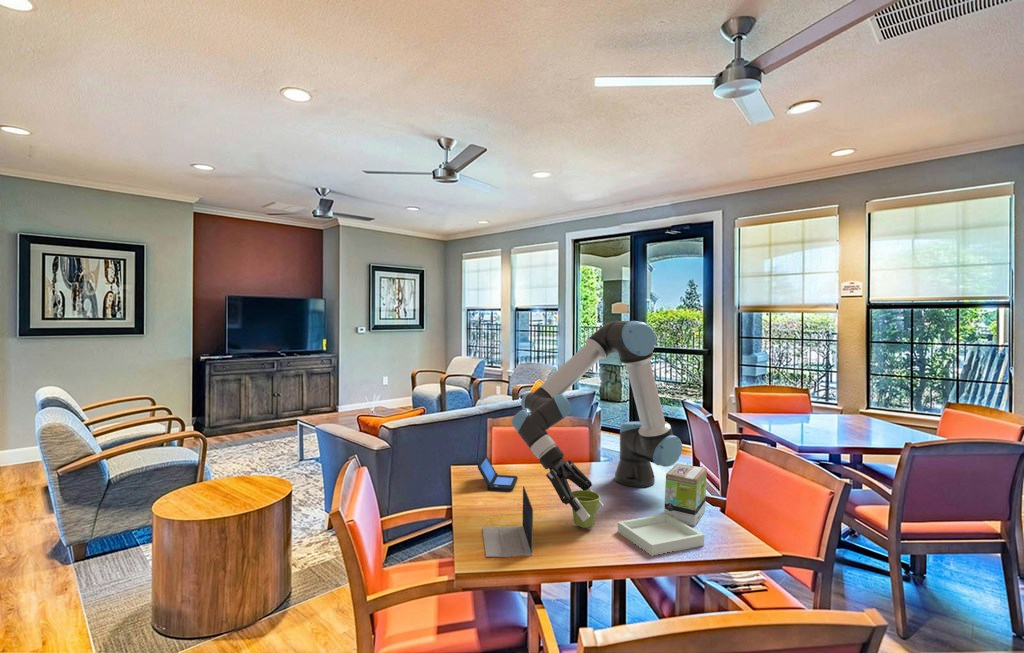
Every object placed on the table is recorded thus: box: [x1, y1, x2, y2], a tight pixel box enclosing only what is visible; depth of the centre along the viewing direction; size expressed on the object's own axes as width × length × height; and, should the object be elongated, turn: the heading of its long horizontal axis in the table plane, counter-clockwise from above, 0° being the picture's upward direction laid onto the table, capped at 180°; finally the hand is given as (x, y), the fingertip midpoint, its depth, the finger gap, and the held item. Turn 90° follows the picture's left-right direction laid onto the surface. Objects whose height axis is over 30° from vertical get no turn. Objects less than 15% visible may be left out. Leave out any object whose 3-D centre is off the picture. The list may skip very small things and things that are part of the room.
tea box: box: [663, 462, 708, 527], centre depth 161 cm, size 15×10×15 cm
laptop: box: [482, 485, 534, 558], centre depth 141 cm, size 18×12×13 cm
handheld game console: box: [477, 455, 518, 492], centre depth 189 cm, size 16×13×9 cm
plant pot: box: [571, 489, 601, 529], centre depth 151 cm, size 9×9×9 cm
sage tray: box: [617, 513, 705, 557], centre depth 144 cm, size 18×16×3 cm
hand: (593, 513), depth 149 cm, fingers closed on plant pot, 9 cm apart
